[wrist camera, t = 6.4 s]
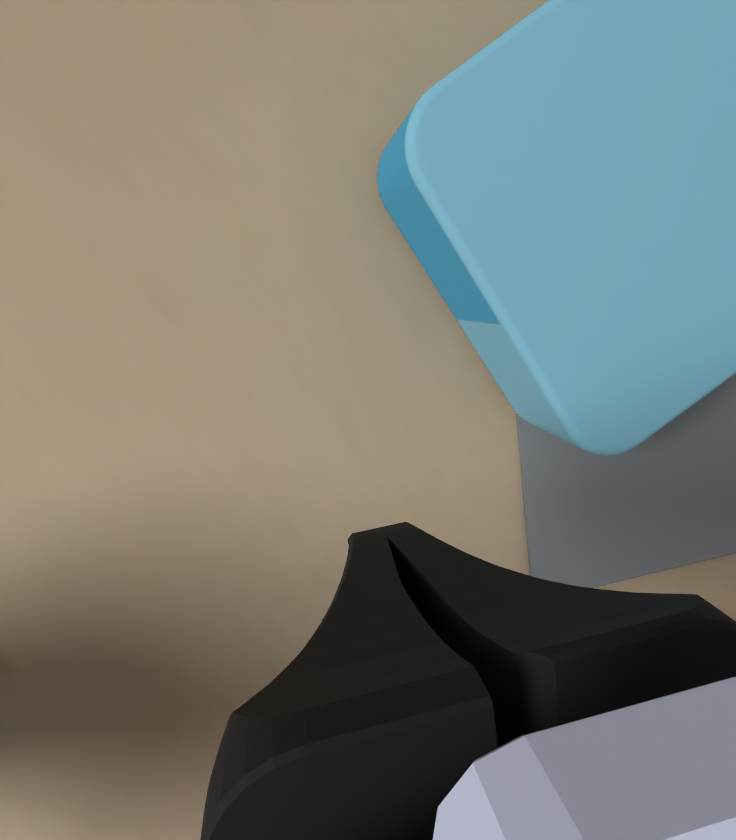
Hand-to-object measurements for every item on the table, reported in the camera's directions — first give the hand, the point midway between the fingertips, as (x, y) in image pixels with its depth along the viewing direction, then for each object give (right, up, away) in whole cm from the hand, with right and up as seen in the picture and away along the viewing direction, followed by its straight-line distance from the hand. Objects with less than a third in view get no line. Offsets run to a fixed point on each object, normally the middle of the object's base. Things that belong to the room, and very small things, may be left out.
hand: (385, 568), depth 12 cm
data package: (+3, +6, +5) cm, 9 cm away
